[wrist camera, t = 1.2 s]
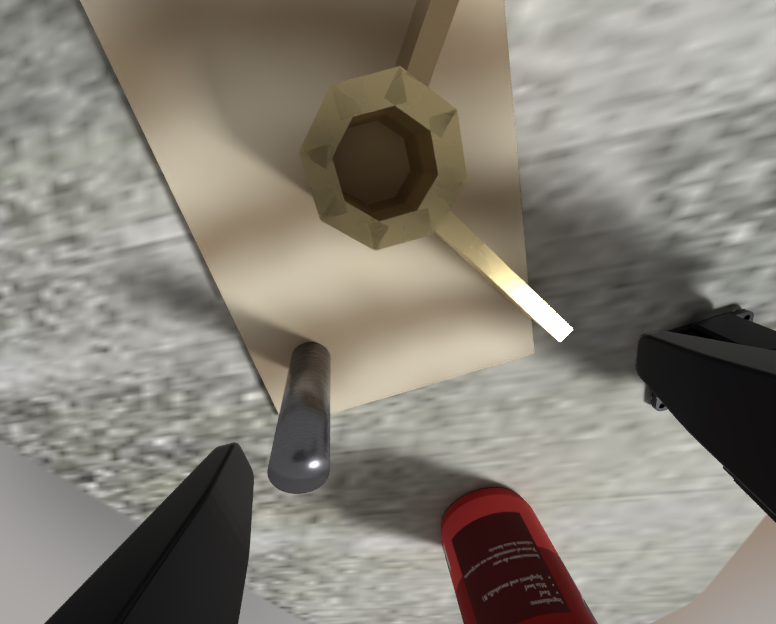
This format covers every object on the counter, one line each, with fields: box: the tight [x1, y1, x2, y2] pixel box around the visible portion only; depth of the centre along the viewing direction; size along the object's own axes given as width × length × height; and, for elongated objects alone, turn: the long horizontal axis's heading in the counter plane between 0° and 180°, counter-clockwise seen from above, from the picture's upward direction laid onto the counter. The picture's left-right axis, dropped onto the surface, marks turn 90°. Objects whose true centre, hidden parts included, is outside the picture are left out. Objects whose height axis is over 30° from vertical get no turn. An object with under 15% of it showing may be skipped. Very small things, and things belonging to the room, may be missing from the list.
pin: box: [268, 342, 331, 494], centre depth 17 cm, size 2×2×8 cm
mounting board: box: [80, 0, 535, 414], centre depth 18 cm, size 22×16×1 cm
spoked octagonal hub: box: [299, 0, 574, 342], centre depth 15 cm, size 18×9×5 cm, turn 14°
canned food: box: [441, 488, 598, 624], centre depth 24 cm, size 8×8×11 cm
